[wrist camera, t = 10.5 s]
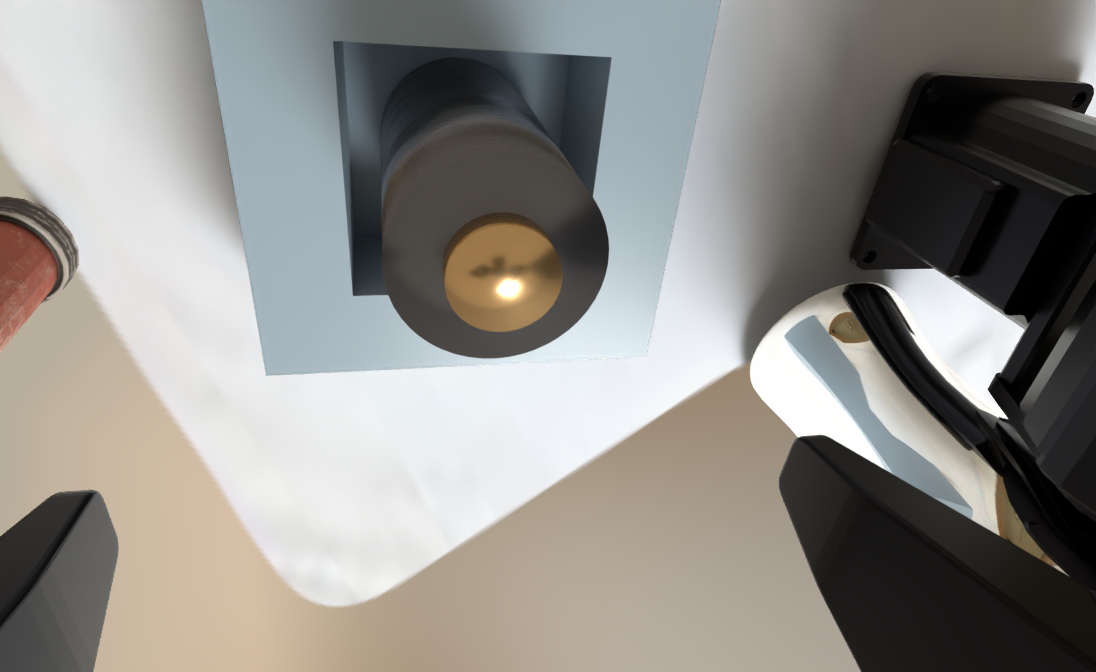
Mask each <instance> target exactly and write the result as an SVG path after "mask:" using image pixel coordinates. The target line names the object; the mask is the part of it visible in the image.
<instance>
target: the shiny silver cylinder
mask: <svg viewBox="0 0 1096 672" xmlns="http://www.w3.org/2000/svg"><path fill="white" fill-rule="evenodd" d="M750 378H751V382H752V385H753V387H754V389H755V391H756V392H757V393H758V395H759V396H760V397H761V398H762V399H763V401H764V402H765V403H766V404H767V405H768V406H769V407H770V408H771V409H772V410H773V411H774V412H775V413H776V414H777V415H778V416H779V417H780V418H781V419H782V420H783V421H784V422H785V423H786V424H787V425H788V426H789V427H790V429H791V430H792V431H793V432H794V433H795V434H796V435H797V437H800V436H809V435H825V436H828V437H830V438H832V439H833V440H835V441H837V442H838V443H840V444H842V445H844V446H845V447H847V448H849V449H851V450H852V451H854V452H856V453H857V454H859V455H861V456H863V457H864V458H866V459H868V460H869V461H871V462H873V463H875V464H876V465H878V466H880V467H882V468H883V469H885V470H887V471H888V472H890V473H892V474H894V475H895V476H897V477H899V478H901V479H902V480H904V481H906V482H907V483H909V484H911V485H913V486H914V487H916V488H918V489H920V490H921V491H923V492H925V493H926V494H928V495H930V496H932V497H933V498H935V499H937V500H939V501H940V502H942V503H944V504H945V505H947V506H949V507H951V508H952V509H954V510H956V511H958V512H959V513H961V514H963V515H964V516H966V517H968V518H970V519H971V520H973V521H975V522H977V523H978V524H980V525H982V526H983V527H985V528H987V529H989V530H990V531H992V532H994V533H996V534H997V535H999V536H1001V537H1002V538H1004V539H1006V540H1008V541H1009V542H1011V543H1013V544H1015V545H1016V546H1018V547H1020V548H1021V549H1023V550H1025V551H1027V552H1028V553H1030V554H1032V555H1034V556H1035V557H1037V558H1039V559H1040V560H1042V561H1044V562H1046V563H1047V564H1049V565H1051V566H1053V567H1054V568H1056V569H1058V570H1059V571H1061V572H1063V573H1065V574H1066V575H1068V576H1070V577H1072V578H1073V579H1075V580H1077V581H1078V582H1080V583H1082V584H1084V585H1085V586H1087V588H1088V589H1089V591H1090V590H1094V591H1096V521H1094V520H1093V519H1091V518H1090V517H1088V516H1087V515H1085V514H1083V513H1081V512H1080V511H1078V510H1077V509H1076V508H1075V507H1074V506H1073V504H1072V503H1071V502H1070V501H1069V500H1068V499H1066V498H1065V496H1064V495H1063V494H1062V493H1061V492H1060V491H1059V489H1058V488H1057V487H1056V486H1055V485H1054V483H1053V482H1052V481H1051V480H1049V479H1048V478H1047V477H1046V476H1045V475H1044V474H1043V473H1042V472H1041V470H1040V468H1039V467H1038V465H1037V463H1036V458H1035V456H1034V455H1033V453H1032V452H1031V451H1030V449H1029V448H1028V446H1027V445H1026V443H1025V442H1024V441H1023V439H1022V438H1021V436H1020V435H1019V434H1018V432H1017V431H1016V429H1015V428H1014V426H1013V425H1012V424H1011V422H1010V421H1009V419H1008V418H1007V416H1006V415H1005V414H1004V412H1003V411H1002V410H1001V409H999V408H998V407H997V406H995V405H994V404H993V403H991V402H990V401H989V400H987V399H986V398H985V397H983V396H982V395H981V394H980V393H978V392H977V391H976V390H974V389H973V388H972V387H970V386H969V385H968V384H967V383H966V382H965V381H964V380H963V379H961V378H960V377H959V376H958V375H957V374H956V373H955V372H954V371H953V370H952V369H950V368H949V366H948V365H947V364H946V363H945V362H944V361H943V360H942V359H941V358H940V357H939V355H938V354H937V353H936V352H935V351H934V349H933V348H932V346H931V345H930V344H929V342H928V341H927V339H926V338H925V336H924V334H923V333H922V331H921V330H920V328H919V326H918V325H917V323H916V321H915V320H914V318H913V316H912V315H911V313H910V311H909V310H908V308H907V306H906V305H905V303H904V302H903V300H902V299H901V298H900V297H899V295H898V294H897V293H896V292H895V291H893V290H892V289H890V288H889V287H887V286H885V285H882V284H879V283H874V282H856V283H849V284H844V285H840V286H836V287H833V288H830V289H828V290H825V291H823V292H820V293H818V294H816V295H814V296H812V297H810V298H808V299H807V300H805V301H803V302H802V303H800V304H798V305H797V306H796V307H794V308H793V309H791V310H790V311H789V312H787V313H786V314H785V315H784V316H783V317H781V318H780V319H779V320H778V321H777V322H776V323H775V324H774V325H773V326H772V327H771V328H770V329H769V331H768V332H767V333H766V334H765V336H764V337H763V338H762V340H761V341H760V343H759V345H758V346H757V348H756V350H755V353H754V355H753V358H752V361H751V365H750Z"/></svg>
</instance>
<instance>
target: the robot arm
mask: <svg viewBox="0 0 1096 672" xmlns="http://www.w3.org/2000/svg"><path fill="white" fill-rule="evenodd" d="M933 85H934V86H933ZM931 86H933V90H932V92H931V93H930V94H929V95H928V96H927V92H928V90H929V88H930V87H931ZM1093 95H1094V89H1093V87H1092V85H1090V84H1087V83H1084V82H1080V81H1075V80H1058V79H1042V78H1025V77H1009V76H993V75H976V74H960V73H943V72H929V73H925V74H924V75H922V76H920V77H919V79H918V80H917V81H916V82H915V83H914V85H913V87H912V89H911V92H910V95H909V97H908V100H907V103H906V105H905V108H904V111H903V113H902V116H901V119H900V121H899V124H898V127H897V129H896V132H895V135H894V137H893V140H892V143H891V145H890V148H889V151H888V153H887V156H886V159H885V161H884V164H883V167H882V170H881V172H880V175H879V178H878V180H877V183H876V186H875V188H874V191H873V194H872V196H871V199H870V202H869V204H868V207H867V210H866V212H865V215H864V218H863V220H862V223H861V226H860V228H859V231H858V234H857V236H856V239H855V242H854V244H853V247H852V250H851V253H850V260H851V262H853V263H854V264H855V265H856V266H857V267H859V268H860V269H863V270H880V269H931V268H934V269H936V270H937V271H939V272H940V273H942V274H943V275H945V276H946V277H948V278H949V279H951V280H952V281H954V282H955V283H957V284H958V285H960V286H961V287H963V288H964V289H966V290H967V291H969V292H970V293H972V294H973V295H974V296H976V297H977V298H979V299H980V300H982V301H983V302H985V303H986V304H988V305H989V306H991V307H992V308H994V309H995V310H997V311H998V312H1000V313H1001V314H1003V315H1004V316H1006V317H1007V318H1009V319H1010V320H1012V321H1013V322H1015V323H1016V324H1018V325H1019V326H1021V327H1022V328H1023V329H1025V331H1024V333H1023V334H1022V336H1021V338H1020V340H1019V342H1018V343H1017V345H1016V347H1015V349H1014V350H1013V352H1012V354H1011V356H1010V357H1009V359H1008V361H1007V363H1006V365H1005V366H1004V368H1003V370H1002V372H1001V373H997V374H996V375H995V377H994V379H993V381H992V382H991V384H990V386H989V388H988V391H989V392H990V394H991V395H992V397H993V398H994V399H995V401H996V402H997V404H998V405H999V407H1000V408H1001V409H1002V411H1003V412H1004V414H1005V415H1006V416H1007V418H1008V419H1009V421H1010V422H1011V424H1012V425H1013V426H1014V428H1015V429H1016V431H1017V432H1018V434H1019V435H1020V436H1021V438H1022V439H1023V441H1024V442H1025V443H1026V445H1027V446H1028V448H1029V449H1030V451H1031V452H1032V453H1033V455H1034V456H1035V458H1036V463H1037V465H1038V467H1039V468H1040V470H1041V472H1042V473H1043V474H1044V475H1045V476H1046V477H1047V478H1048V479H1049V480H1051V481H1052V482H1053V483H1054V485H1055V486H1056V487H1057V488H1058V489H1059V491H1060V492H1061V493H1062V494H1063V495H1064V496H1065V498H1066V499H1068V500H1069V501H1070V502H1071V503H1072V504H1073V506H1074V507H1075V508H1076V509H1077V510H1078V511H1080V512H1081V513H1083V514H1085V515H1087V516H1088V517H1090V518H1091V519H1093V520H1094V521H1096V118H1095V117H1092V116H1088V115H1085V112H1086V110H1087V108H1088V106H1089V104H1090V102H1091V100H1092V97H1093ZM1073 98H1074V99H1073ZM868 251H869V253H868V255H867V256H865V257H864V255H865V254H866V253H867V252H868ZM863 257H864V258H863ZM779 489H780V493H781V496H782V498H783V501H784V503H785V506H786V509H787V511H788V513H789V516H790V519H791V521H792V524H793V526H794V529H795V531H796V534H797V536H798V539H799V541H800V544H801V546H802V549H803V552H804V554H805V557H806V559H807V562H808V564H809V567H810V569H811V572H812V573H813V576H814V579H815V581H816V583H817V586H818V588H819V590H820V592H821V594H822V596H823V598H824V600H825V602H826V604H827V606H828V608H829V610H830V612H831V614H832V616H833V618H834V620H835V622H836V624H837V626H838V628H839V629H840V631H841V634H842V636H843V637H844V639H845V641H846V643H847V645H848V647H849V649H850V651H851V653H852V655H853V657H854V659H855V661H856V663H857V665H858V667H859V669H860V671H861V672H1096V591H1094V590H1090V591H1089V589H1088V588H1087V586H1085V585H1084V584H1082V583H1080V582H1078V581H1077V580H1075V579H1073V578H1072V577H1070V576H1068V575H1066V574H1065V573H1063V572H1061V571H1059V570H1058V569H1056V568H1054V567H1053V566H1051V565H1049V564H1047V563H1046V562H1044V561H1042V560H1040V559H1039V558H1037V557H1035V556H1034V555H1032V554H1030V553H1028V552H1027V551H1025V550H1023V549H1021V548H1020V547H1018V546H1016V545H1015V544H1013V543H1011V542H1009V541H1008V540H1006V539H1004V538H1002V537H1001V536H999V535H997V534H996V533H994V532H992V531H990V530H989V529H987V528H985V527H983V526H982V525H980V524H978V523H977V522H975V521H973V520H971V519H970V518H968V517H966V516H964V515H963V514H961V513H959V512H958V511H956V510H954V509H952V508H951V507H949V506H947V505H945V504H944V503H942V502H940V501H939V500H937V499H935V498H933V497H932V496H930V495H928V494H926V493H925V492H923V491H921V490H920V489H918V488H916V487H914V486H913V485H911V484H909V483H907V482H906V481H904V480H902V479H901V478H899V477H897V476H895V475H894V474H892V473H890V472H888V471H887V470H885V469H883V468H882V467H880V466H878V465H876V464H875V463H873V462H871V461H869V460H868V459H866V458H864V457H863V456H861V455H859V454H857V453H856V452H854V451H852V450H851V449H849V448H847V447H845V446H844V445H842V444H840V443H838V442H837V441H835V440H833V439H832V438H830V437H828V436H825V435H809V436H800V437H798V438H797V439H796V440H795V441H794V442H793V444H792V446H791V449H790V451H789V453H788V456H787V458H786V461H785V463H784V466H783V469H782V471H781V473H780V476H779ZM117 558H118V539H117V535H116V532H115V529H114V527H113V524H112V521H111V518H110V516H109V513H108V510H107V507H106V504H105V502H104V499H103V497H102V495H101V494H100V493H99V492H98V491H95V490H81V491H67V492H59V493H56V494H54V495H52V496H50V497H49V498H48V499H46V500H45V501H44V502H42V503H41V504H40V505H39V506H38V507H36V508H35V509H34V510H33V511H31V512H30V513H29V514H28V515H26V516H25V517H24V518H23V519H21V520H20V521H19V522H18V523H16V524H15V525H14V526H13V527H11V528H10V529H9V530H8V531H6V533H4V534H3V535H2V536H0V672H93V670H94V666H95V661H96V656H97V652H98V647H99V643H100V638H101V633H102V628H103V624H104V619H105V614H106V610H107V605H108V600H109V595H110V591H111V586H112V582H113V577H114V572H115V567H116V563H117Z"/></svg>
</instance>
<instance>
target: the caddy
mask: <svg viewBox="0 0 1096 672" xmlns="http://www.w3.org/2000/svg"><path fill="white" fill-rule="evenodd" d="M720 3H721V0H202V6H203V11H204V17H205V23H206V29H207V35H208V40H209V46H210V52H211V58H212V64H213V69H214V75H215V81H216V87H217V93H218V98H219V104H220V110H221V116H222V122H223V127H224V133H225V139H226V145H227V151H228V156H229V162H230V168H231V174H232V180H233V185H234V191H235V197H236V203H237V209H238V214H239V220H240V226H241V232H242V238H243V243H244V249H245V255H246V261H247V267H248V272H249V278H250V284H251V290H252V296H253V301H254V307H255V313H256V319H257V325H258V330H259V336H260V342H261V348H262V354H263V359H264V365H265V371H266V376H270V375H290V374H310V373H330V372H350V371H371V370H391V369H411V368H431V367H451V366H471V365H491V364H511V363H531V362H551V361H571V360H591V359H612V358H632V357H646V356H647V351H648V346H649V342H650V337H651V332H652V327H653V323H654V318H655V313H656V308H657V303H658V299H659V294H660V289H661V284H662V280H663V275H664V270H665V265H666V261H667V256H668V251H669V246H670V241H671V237H672V232H673V227H674V222H675V218H676V213H677V208H678V203H679V198H680V194H681V189H682V184H683V179H684V175H685V170H686V165H687V160H688V156H689V151H690V146H691V141H692V136H693V132H694V127H695V122H696V117H697V113H698V108H699V103H700V98H701V94H702V89H703V84H704V79H705V74H706V70H707V65H708V60H709V55H710V51H711V46H712V41H713V36H714V32H715V27H716V22H717V17H718V12H719V8H720ZM448 57H461V58H469V59H473V60H477V61H480V62H483V63H485V64H488V65H490V66H491V67H493V68H495V69H497V70H498V71H500V72H501V73H502V74H503V75H505V76H506V77H507V78H508V79H509V80H510V81H511V82H512V83H513V84H514V86H515V87H516V88H517V89H518V91H519V92H520V94H521V95H522V96H523V98H524V99H525V101H526V102H527V104H528V105H529V107H530V108H531V109H532V111H533V112H534V114H535V115H536V117H537V118H538V119H539V121H540V122H541V124H542V125H543V127H544V128H545V129H546V131H547V132H548V134H549V135H550V137H551V138H552V140H553V141H554V142H555V144H556V145H557V147H558V148H559V150H560V151H561V152H562V154H563V155H564V157H565V158H566V160H567V161H568V162H569V164H570V165H571V167H572V168H573V170H574V171H575V172H576V174H577V175H578V177H579V178H580V180H581V181H582V183H583V184H584V185H585V187H586V188H587V190H588V191H589V193H590V194H591V195H592V197H593V198H594V200H595V202H596V203H597V205H598V207H599V209H600V211H601V213H602V216H603V218H604V221H605V224H606V228H607V233H608V239H609V259H608V266H607V271H606V275H605V278H604V281H603V284H602V287H601V289H600V291H599V293H598V295H597V297H596V299H595V300H594V302H593V303H592V305H591V306H590V308H589V309H588V311H587V312H586V313H585V314H584V315H583V317H582V318H581V319H580V320H579V321H578V322H577V323H576V324H575V325H574V326H573V327H572V328H571V329H569V330H568V331H567V332H565V333H564V334H563V335H561V336H560V337H559V338H557V339H555V340H554V341H552V342H550V343H548V344H547V345H544V346H542V347H540V348H538V349H536V350H533V351H530V352H527V353H524V354H520V355H516V356H511V357H504V358H488V359H482V358H472V357H466V356H461V355H457V354H453V353H451V352H448V351H445V350H442V349H440V348H438V347H436V346H434V345H432V344H430V343H429V342H427V341H426V340H424V339H423V338H421V337H420V336H418V335H417V334H416V333H415V332H414V331H413V330H411V329H410V328H409V327H408V326H407V324H406V323H405V322H404V321H403V320H402V319H401V317H400V316H399V314H398V313H397V311H396V310H395V308H394V307H393V305H392V302H391V300H390V298H389V296H388V293H387V290H386V286H385V283H384V277H383V270H382V201H381V121H382V115H383V111H384V108H385V105H386V103H387V101H388V98H389V96H390V95H391V93H392V91H393V90H394V88H395V87H396V86H397V85H398V83H399V82H400V81H401V80H402V79H403V78H404V77H405V76H406V75H407V74H409V73H410V72H411V71H413V70H414V69H416V68H417V67H419V66H421V65H423V64H425V63H427V62H430V61H434V60H437V59H442V58H448Z"/></svg>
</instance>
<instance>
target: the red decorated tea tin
mask: <svg viewBox="0 0 1096 672" xmlns="http://www.w3.org/2000/svg"><path fill="white" fill-rule="evenodd" d="M78 266H79V250H78V248H77V245H76V243H75V241H74V238H73V236H72V234H71V233H70V232H69V230H68V229H67V228H66V227H65V225H64V224H63V223H62V222H61V221H60V219H58V218H57V217H55V216H54V215H53V214H51V213H50V212H49V211H47V210H46V209H45V208H43V207H41V206H39V205H36V204H34V203H32V202H29V201H27V200H25V199H19V198H12V197H0V352H1V351H2V350H3V349H4V347H5V346H6V345H7V344H8V343H9V341H10V340H11V339H12V338H13V336H14V335H15V334H16V333H17V332H18V330H19V329H20V328H21V327H22V325H23V324H24V323H25V322H26V320H27V319H28V318H29V317H30V316H31V314H32V313H33V312H34V311H35V309H36V308H37V307H38V306H39V305H40V304H41V303H43V302H46V301H48V300H50V299H52V298H53V297H55V296H56V295H57V294H59V293H60V292H61V291H62V290H63V289H64V288H65V286H66V285H67V284H68V282H69V281H70V280H71V279H72V277H73V276H74V274H75V272H76V270H77V268H78Z"/></svg>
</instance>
